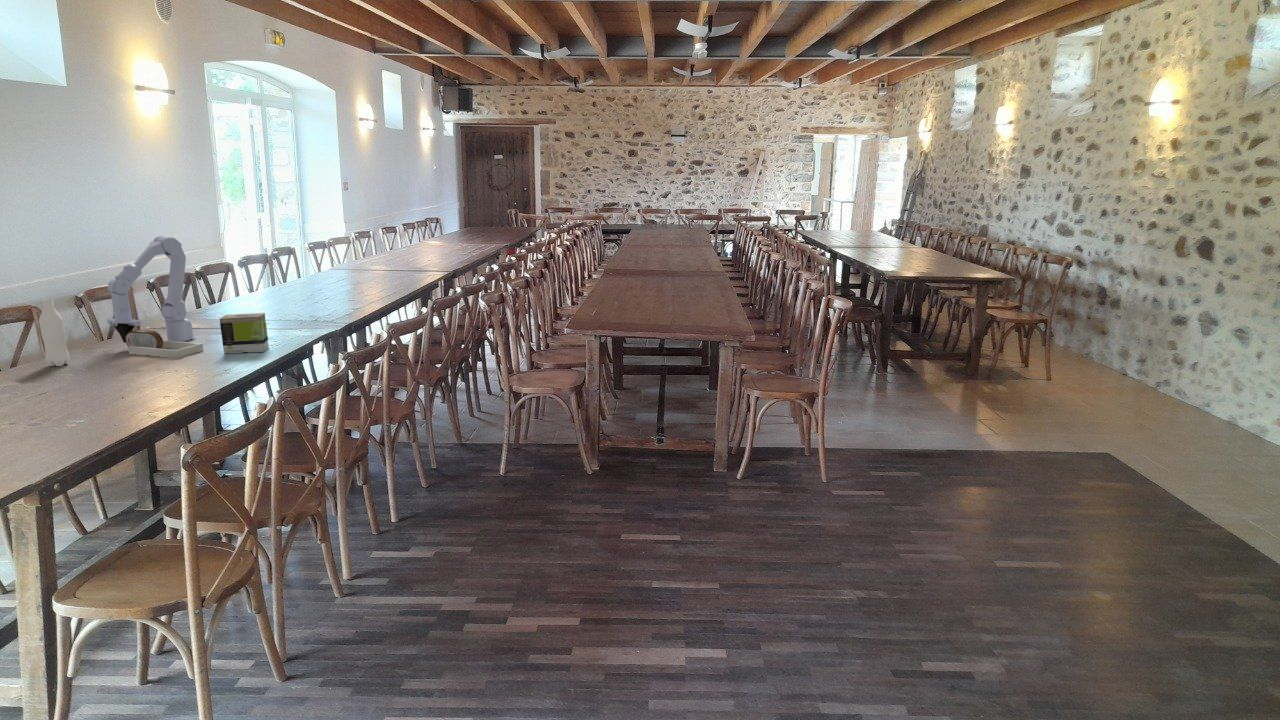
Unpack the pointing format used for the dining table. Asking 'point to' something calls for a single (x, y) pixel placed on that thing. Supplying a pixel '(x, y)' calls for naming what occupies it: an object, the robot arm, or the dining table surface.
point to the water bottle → (53, 335)
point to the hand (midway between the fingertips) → (127, 342)
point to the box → (182, 347)
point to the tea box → (244, 333)
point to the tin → (144, 339)
